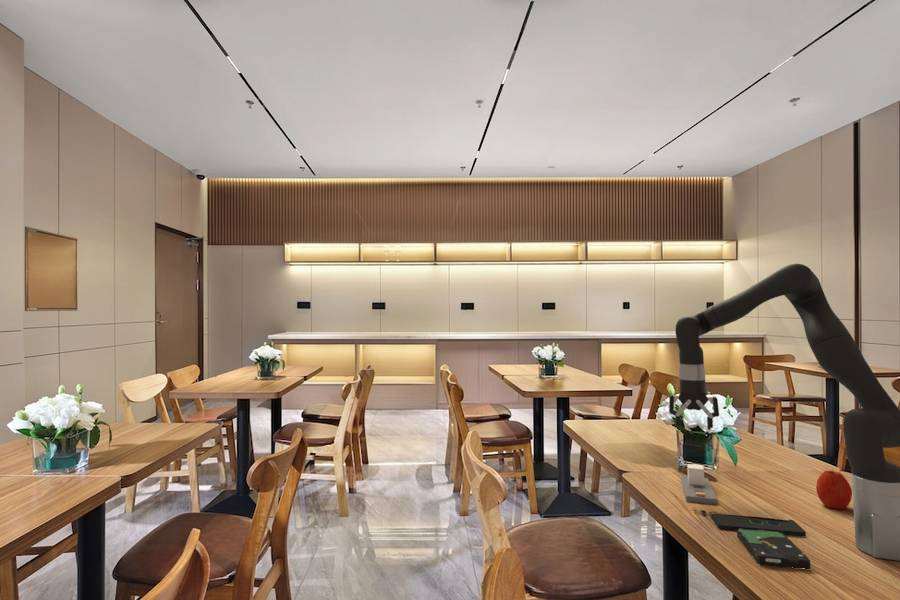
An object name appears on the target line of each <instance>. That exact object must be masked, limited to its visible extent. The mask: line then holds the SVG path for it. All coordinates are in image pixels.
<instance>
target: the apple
mask: <svg viewBox="0 0 900 600" xmlns="http://www.w3.org/2000/svg"><path fill="white" fill-rule="evenodd" d="M851 487H852V486H851V485H850V483H849V482H848V480H847V478H846V477H845V476H844V475H843V474H842V473H841V472H839V471H834V470H824V471H823V472H822V473H820V475H819V476H818V478H817V479H816V487H815V489H816V495H817V497H818V499H819V500H820V502H821V504H823V505H824V506H825V507H827V508H831V509H834V508H835V509H836V510H845V509H846V508H847V507H848V506H849V505H850V503H851V501H852V498H853V488H851Z"/></svg>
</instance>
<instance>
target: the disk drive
mask: <svg viewBox="0 0 900 600" xmlns="http://www.w3.org/2000/svg"><path fill="white" fill-rule="evenodd" d="M736 533H737V534H736V535H737V538H738V540H739V541H740V543H741V544H742V545H743V546H744V548H746V550H747V552H748V553H749V554H750V555H751V556H753V557H752V558H753V560H754V559H755V560H756V561H755V560H754V561H755V563H757V564H760V565H759V566H763V565H766V566H767V567H775V568H783V567H789V568H788V569H793V568H805V569H811V570H812V567H811V559H809V557H808V556H807V554H805V553H804V552H803V551H802V550H801V549H800V548H799V547H798V546H797V545H796V544H795V543H794V542H793V541H792V540H791V539H789V537H788V535H784V533H783V532H778V531H765V530H759V531H758V530H745V529H741V528H739V530H738V531H736ZM790 567H791V568H790ZM792 567H793V568H792Z"/></svg>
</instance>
